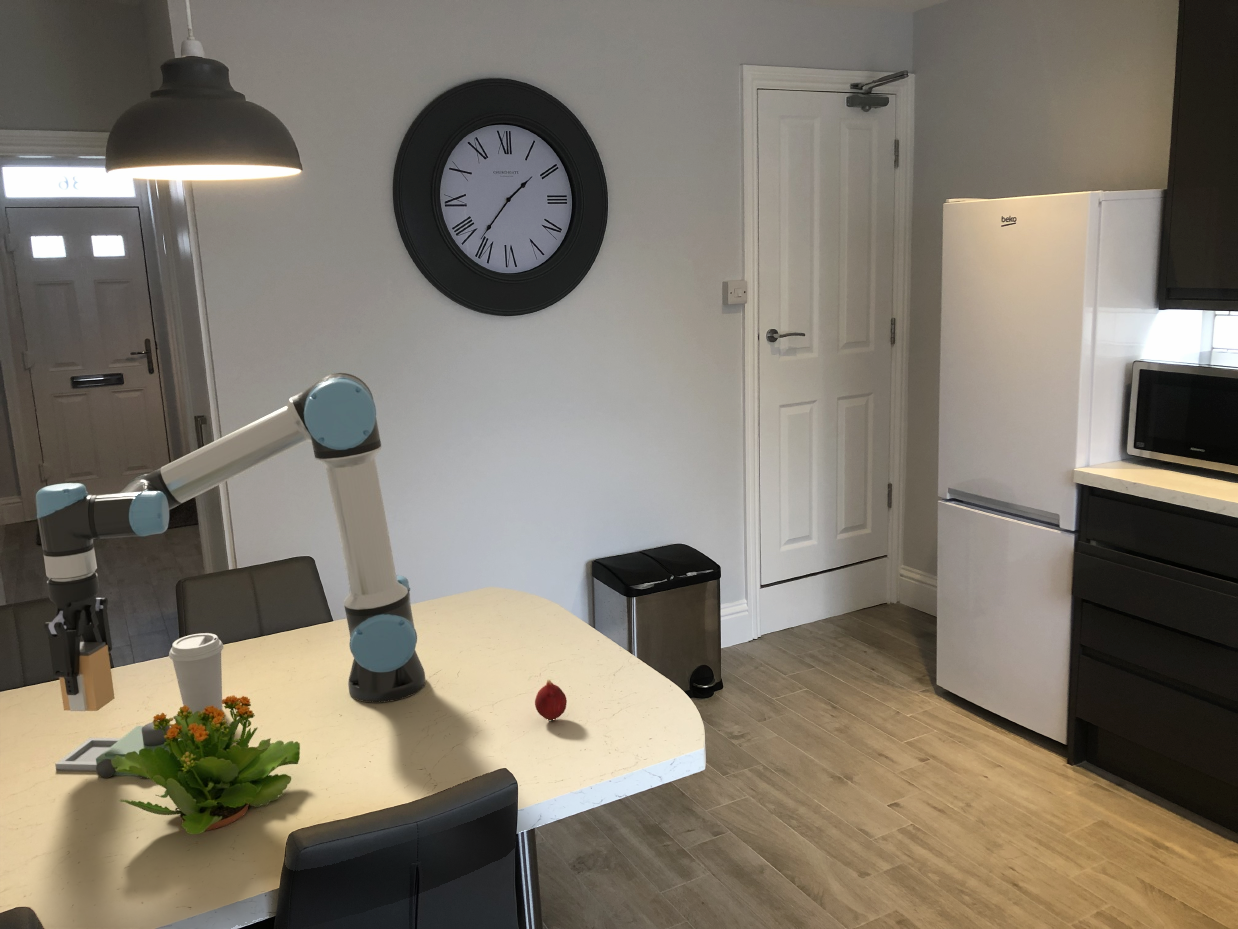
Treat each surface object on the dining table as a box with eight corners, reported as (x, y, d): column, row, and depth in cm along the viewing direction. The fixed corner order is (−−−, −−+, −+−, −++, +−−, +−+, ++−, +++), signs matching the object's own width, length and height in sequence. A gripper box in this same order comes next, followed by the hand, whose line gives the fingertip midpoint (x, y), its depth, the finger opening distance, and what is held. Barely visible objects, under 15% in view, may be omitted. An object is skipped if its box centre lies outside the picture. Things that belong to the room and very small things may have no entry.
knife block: (114, 698, 168) (107, 641, 166) (96, 711, 163) (88, 652, 161) (82, 697, 168) (74, 641, 166) (63, 710, 164) (55, 652, 162)
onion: (572, 716, 177) (571, 676, 176) (558, 730, 172) (556, 689, 171) (545, 711, 180) (543, 672, 178) (530, 725, 175) (528, 684, 173)
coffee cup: (211, 727, 178) (202, 651, 175) (166, 724, 180) (156, 649, 177) (241, 704, 187) (232, 632, 184) (197, 702, 189) (188, 630, 186)
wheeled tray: (199, 739, 173) (195, 708, 172) (156, 779, 160) (151, 746, 158) (98, 737, 175) (94, 707, 174) (47, 777, 161) (42, 744, 160)
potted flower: (265, 859, 136) (252, 746, 133) (94, 872, 135) (77, 758, 131) (307, 770, 161) (297, 673, 157) (163, 780, 159) (150, 683, 156)
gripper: (85, 559, 170) (101, 681, 175) (13, 592, 153) (33, 726, 157) (124, 559, 170) (140, 681, 174) (57, 592, 152) (76, 727, 157)
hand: (89, 702), depth 166 cm, fingers closed on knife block, 5 cm apart
